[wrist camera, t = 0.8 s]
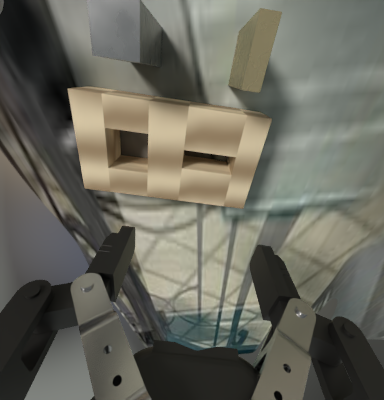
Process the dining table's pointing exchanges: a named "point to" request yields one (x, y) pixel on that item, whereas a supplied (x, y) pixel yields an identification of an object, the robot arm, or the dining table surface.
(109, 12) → the square bit
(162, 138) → the socket block
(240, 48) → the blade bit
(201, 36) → the dining table surface
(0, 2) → the cup
